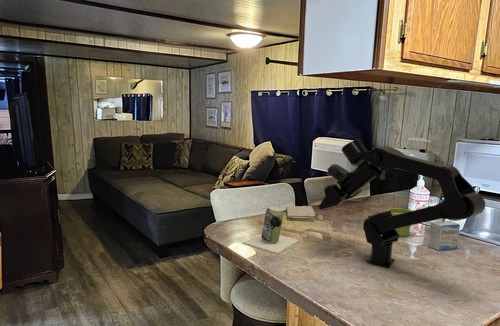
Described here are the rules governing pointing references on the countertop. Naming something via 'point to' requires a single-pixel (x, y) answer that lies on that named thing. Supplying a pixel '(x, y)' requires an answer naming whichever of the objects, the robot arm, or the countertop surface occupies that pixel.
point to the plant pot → (403, 230)
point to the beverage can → (272, 224)
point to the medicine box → (444, 235)
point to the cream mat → (271, 244)
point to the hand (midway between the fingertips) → (325, 205)
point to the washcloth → (300, 213)
